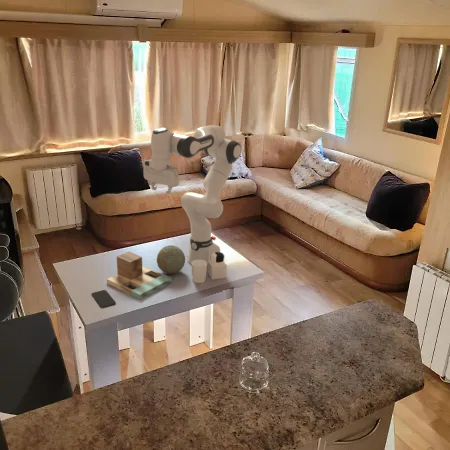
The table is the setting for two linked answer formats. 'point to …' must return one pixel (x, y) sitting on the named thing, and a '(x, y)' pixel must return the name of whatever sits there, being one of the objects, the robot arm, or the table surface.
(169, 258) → the decorative sphere
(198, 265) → the white cup
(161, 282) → the board
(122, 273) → the walnut block
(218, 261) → the container
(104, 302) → the phone
